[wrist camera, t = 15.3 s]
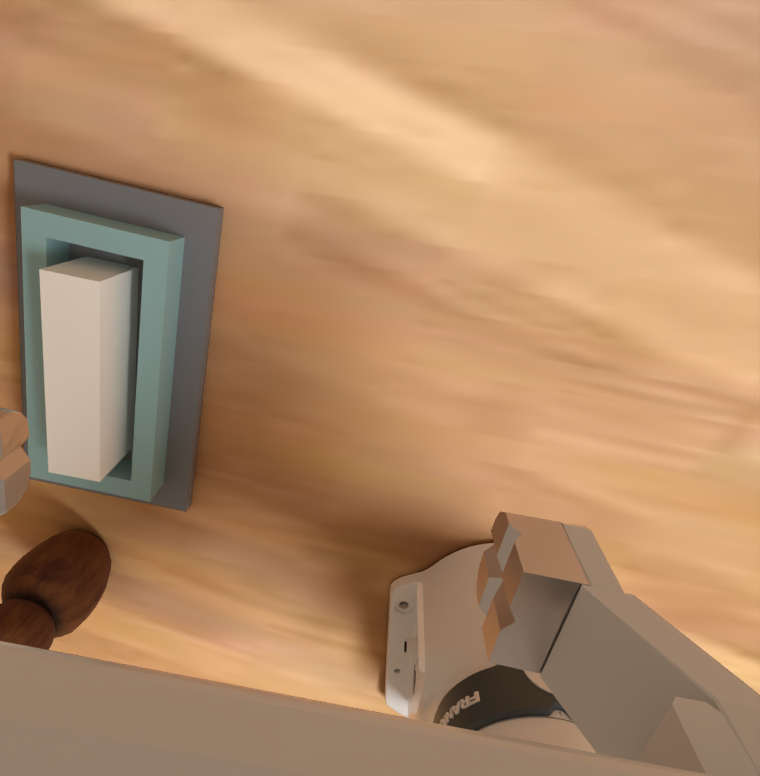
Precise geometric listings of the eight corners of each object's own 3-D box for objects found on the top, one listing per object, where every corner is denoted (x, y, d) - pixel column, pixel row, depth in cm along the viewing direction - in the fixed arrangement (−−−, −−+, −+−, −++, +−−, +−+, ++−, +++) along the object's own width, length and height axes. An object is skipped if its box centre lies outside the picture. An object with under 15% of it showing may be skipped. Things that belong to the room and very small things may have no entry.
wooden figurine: (136, 567, 47) (24, 735, 33) (83, 587, 48) (-46, 757, 34) (90, 508, 44) (-50, 661, 31) (36, 530, 46) (-123, 687, 32)
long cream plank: (133, 446, 41) (99, 482, 36) (88, 437, 41) (48, 472, 36) (138, 267, 36) (99, 281, 31) (86, 256, 35) (39, 269, 31)
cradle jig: (190, 504, 44) (174, 531, 41) (32, 471, 43) (3, 495, 40) (223, 207, 35) (205, 211, 32) (24, 159, 34) (-16, 158, 31)
